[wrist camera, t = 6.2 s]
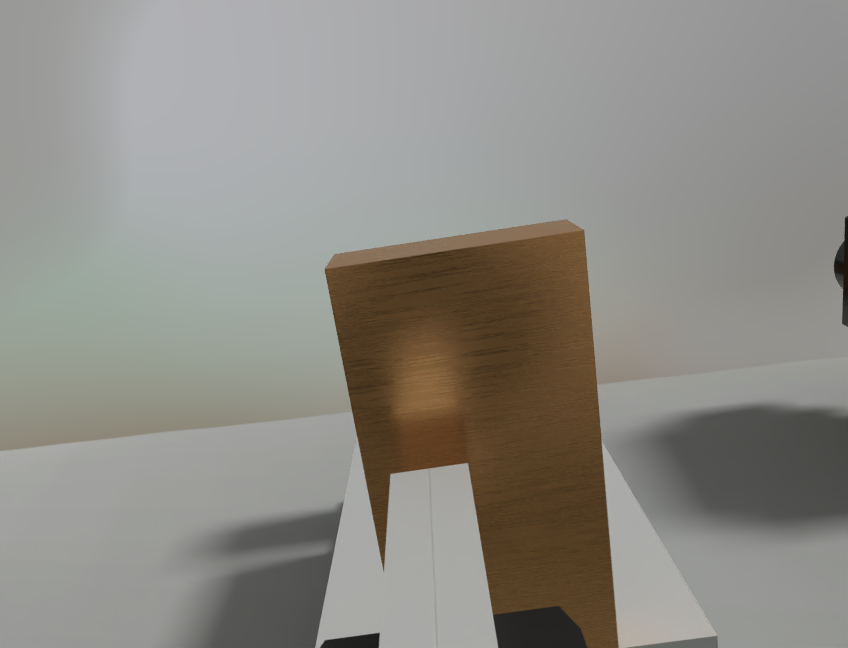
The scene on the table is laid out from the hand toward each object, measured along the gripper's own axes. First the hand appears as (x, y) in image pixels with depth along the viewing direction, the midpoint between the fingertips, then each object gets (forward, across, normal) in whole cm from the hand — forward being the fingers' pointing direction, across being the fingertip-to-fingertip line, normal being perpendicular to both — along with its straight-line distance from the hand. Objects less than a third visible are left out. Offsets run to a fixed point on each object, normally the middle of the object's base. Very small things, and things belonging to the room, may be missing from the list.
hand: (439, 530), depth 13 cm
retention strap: (+8, +1, -5) cm, 10 cm away
